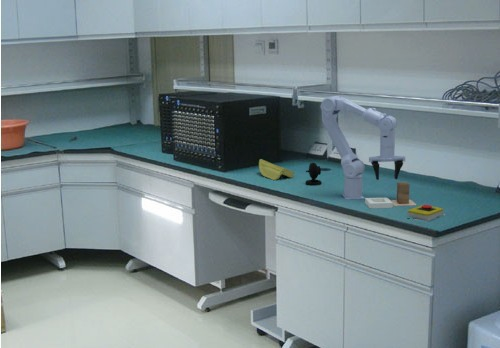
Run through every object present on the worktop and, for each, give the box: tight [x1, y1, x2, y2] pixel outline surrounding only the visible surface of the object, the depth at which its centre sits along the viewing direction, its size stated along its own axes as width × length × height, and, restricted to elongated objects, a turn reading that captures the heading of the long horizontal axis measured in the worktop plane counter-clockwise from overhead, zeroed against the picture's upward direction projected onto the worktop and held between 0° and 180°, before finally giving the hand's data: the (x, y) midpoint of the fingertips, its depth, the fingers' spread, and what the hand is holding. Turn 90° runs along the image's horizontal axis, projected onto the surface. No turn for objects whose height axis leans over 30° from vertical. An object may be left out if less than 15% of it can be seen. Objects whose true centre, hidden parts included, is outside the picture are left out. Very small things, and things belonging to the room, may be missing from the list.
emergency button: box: [406, 204, 446, 222], centre depth 257 cm, size 9×4×15 cm
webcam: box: [305, 162, 323, 186], centre depth 315 cm, size 8×8×10 cm
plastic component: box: [258, 158, 295, 181], centre depth 335 cm, size 20×7×10 cm
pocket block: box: [364, 197, 394, 209], centre depth 273 cm, size 9×9×2 cm
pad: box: [389, 199, 417, 207], centre depth 276 cm, size 9×9×1 cm
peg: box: [396, 181, 410, 204], centre depth 275 cm, size 4×4×8 cm
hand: (386, 179), depth 279 cm, fingers open, 7 cm apart
